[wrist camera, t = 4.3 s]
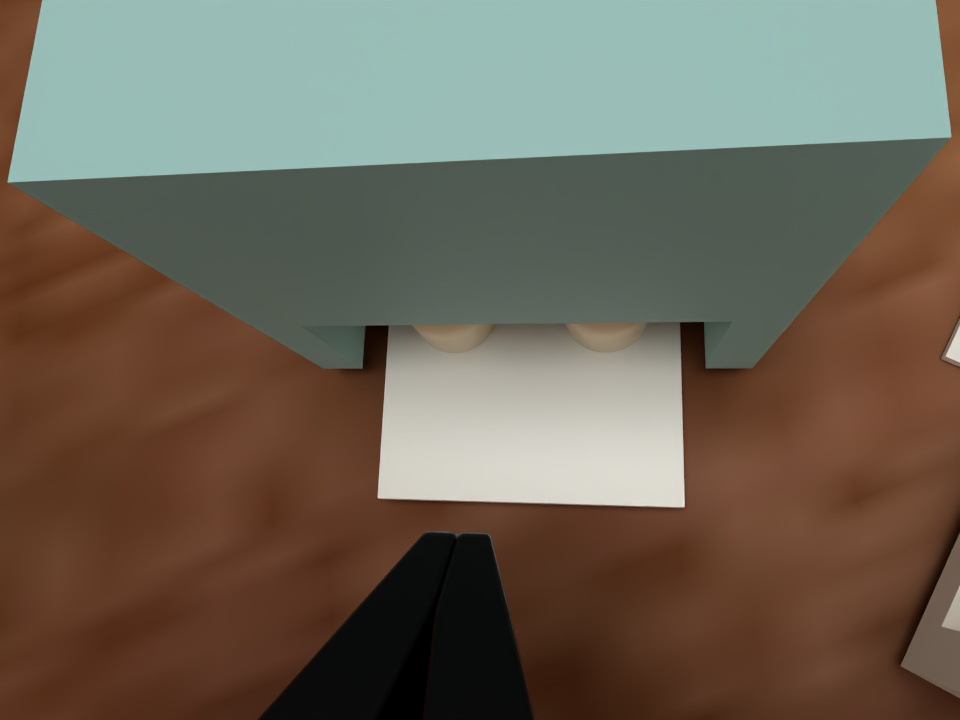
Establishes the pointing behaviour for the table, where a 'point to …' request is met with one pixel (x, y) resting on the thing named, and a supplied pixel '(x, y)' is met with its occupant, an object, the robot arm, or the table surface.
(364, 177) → the housing
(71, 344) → the table surface
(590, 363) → the board
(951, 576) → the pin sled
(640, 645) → the table surface
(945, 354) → the pad
